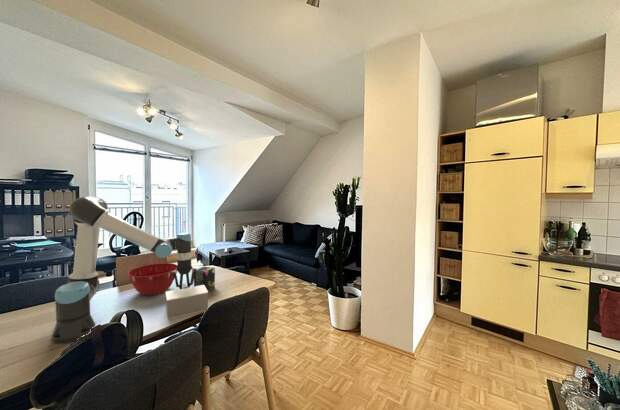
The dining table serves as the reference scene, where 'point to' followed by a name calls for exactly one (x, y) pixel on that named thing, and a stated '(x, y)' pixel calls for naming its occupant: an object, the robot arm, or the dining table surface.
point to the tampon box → (205, 277)
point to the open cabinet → (186, 305)
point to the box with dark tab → (185, 292)
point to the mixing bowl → (152, 278)
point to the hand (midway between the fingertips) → (184, 297)
